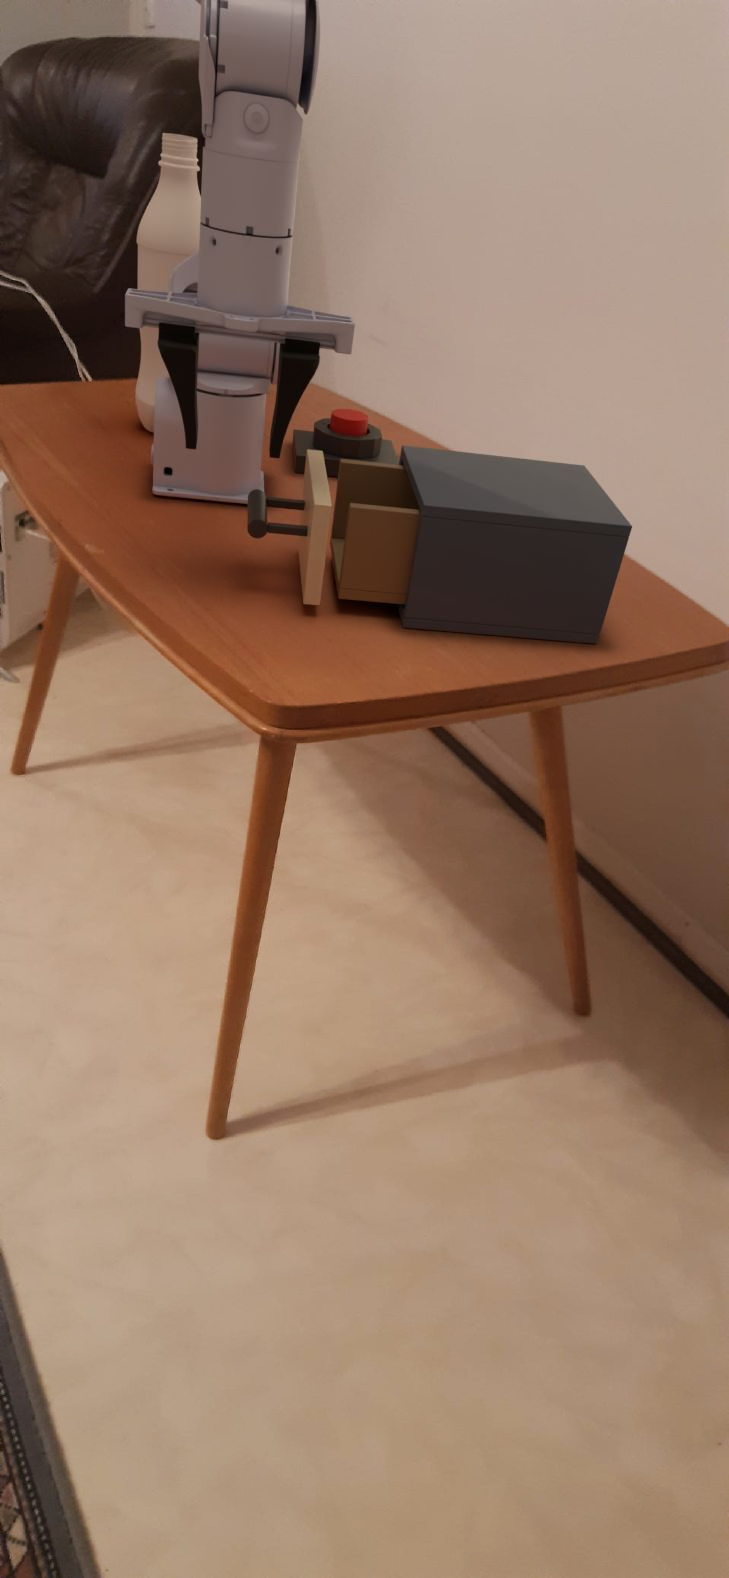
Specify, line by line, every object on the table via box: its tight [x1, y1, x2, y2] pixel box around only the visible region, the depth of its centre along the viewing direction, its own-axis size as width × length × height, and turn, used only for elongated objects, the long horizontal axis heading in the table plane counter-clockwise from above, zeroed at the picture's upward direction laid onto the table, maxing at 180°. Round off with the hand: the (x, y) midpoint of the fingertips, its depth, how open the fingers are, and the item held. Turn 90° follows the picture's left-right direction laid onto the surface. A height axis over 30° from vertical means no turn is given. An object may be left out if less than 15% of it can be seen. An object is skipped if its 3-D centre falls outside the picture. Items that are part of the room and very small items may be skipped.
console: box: [291, 417, 400, 478], centre depth 100 cm, size 10×8×4 cm
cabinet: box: [396, 444, 633, 645], centre depth 77 cm, size 15×13×9 cm
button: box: [330, 408, 370, 436], centre depth 99 cm, size 4×4×2 cm
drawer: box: [246, 449, 421, 606], centre depth 75 cm, size 18×11×7 cm, turn 95°
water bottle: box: [134, 132, 201, 434], centre depth 95 cm, size 7×7×25 cm
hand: (233, 449), depth 71 cm, fingers open, 5 cm apart
